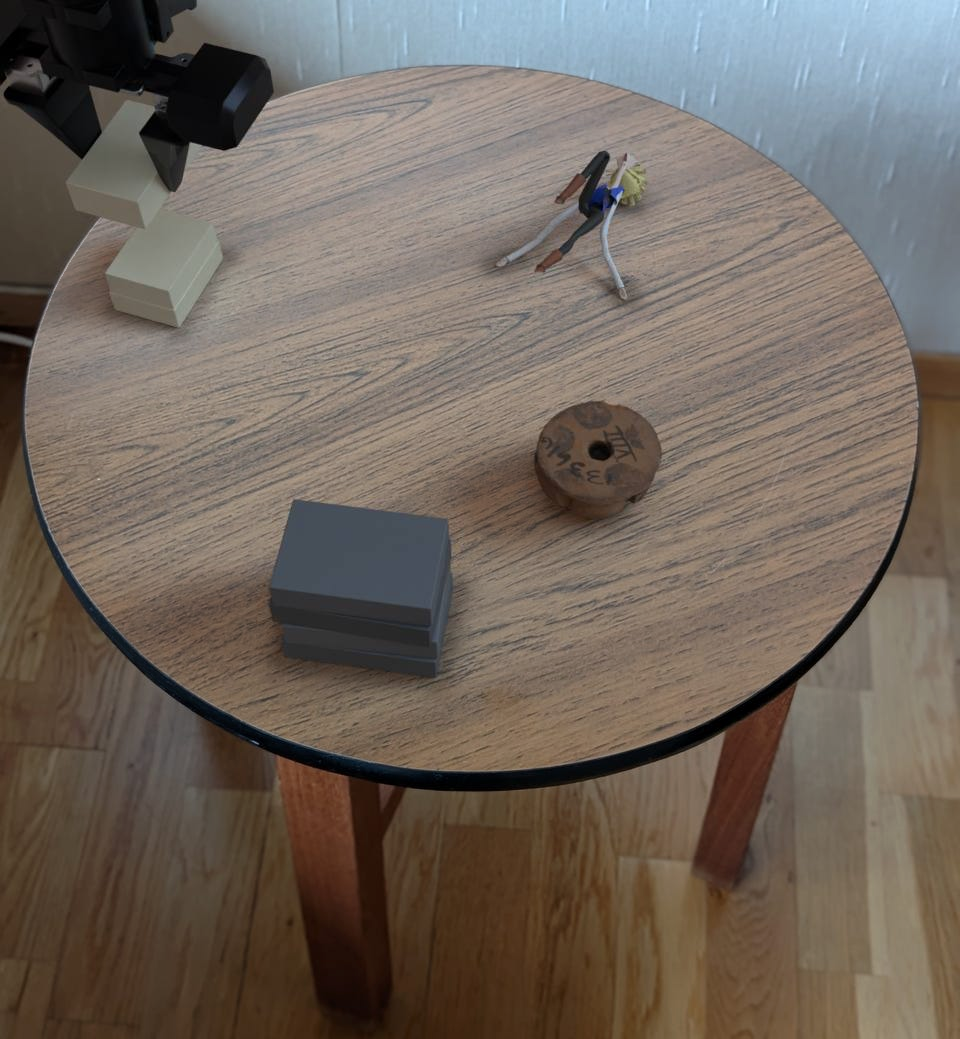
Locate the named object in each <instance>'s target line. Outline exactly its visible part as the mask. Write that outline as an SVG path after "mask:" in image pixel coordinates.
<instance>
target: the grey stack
mask: <svg viewBox="0 0 960 1039" xmlns="http://www.w3.org/2000/svg"><path fill="white" fill-rule="evenodd" d="M280 542H281V543H280V545H279V549H278V553H277V557H276V560H275V563H274V567H273V570H272V574H271V578H270V581H269V586H268V588H269V589H268V590H269V593H270V598H269V601H268V607H269V611H270V615H271V618H272V622H274V623H278V624H279V623H280V624H281V630H282V635H281V638H280V644H281V647H282V652H283V656H284V657H285V658H287V659H294V660H295V659H297V660H303V661H310V662H317V663H325V664H333V665H339V666H346V667H353V668H354V667H355V668H362V669H368V670H375V671H383V672H388V673H389V672H391V673H397V674H403V675H405V674H406V675H412V676H419V677H424V678H425V677H426V678H433V679H437V677H438V671H439V668H440V667H439V666H440V661H441V656H442V651H443V645H444V641H445V634H446V630H447V624H448V619H449V613H450V608H451V603H452V598H453V592H454V578H453V575H454V574H453V573H452V566H451V563H452V557H453V556H452V539H451V538H450V522H449V518H445V517H444V518H443V517H436V516H428V515H421V514H412V513H406V512H397V511H390V510H383V509H375V508H367V507H358V506H351V505H345V504H344V505H343V504H334V503H329V502H328V503H327V502H320V501H312V500H306V499H305V500H303V499H296V498H293V499H292V501H291V506H290V510H289V513H288V517H287V521H286V524H285V527H284V531H283V535H282V539H281V541H280Z"/></svg>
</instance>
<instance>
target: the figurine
mask: <svg viewBox="0 0 960 1039" xmlns="http://www.w3.org/2000/svg"><path fill="white" fill-rule="evenodd" d="M610 159H611V155H610V153H609V152H608V151H607V150H601V151H598V152H597V153H596V155H594V157H593V158H592V159H591V160H590V161H589V163H588V164H587V165H586V166H585V167H584V169H583V170H582V171H581V173H580V172H577V173H576V174H575V175H574V177H573V178H572V179H571V181H570V182H569V183H568V185H567V186H566V187H565V188H564V189H563V191H562V192H560V193H559V195H557V196H556V198H555V200H554V201H553V203H554V204H558V205H564V204H565V202H566V200H567V199H569V198H571V197H572V196H574V194H575V193H576V192H577V191H578V190H579V189H580V188H581V187H582V186H583V188H582V191H581V192H580V195H579V197H578V201H577V202H575V203H574V204H573V205H571V206H570V207H568V208H567V209H565V210H563V211H562V212H561V213H559V214H558V215H557V216H556V217H555V218H553V219H551V221H550V222H549V223H548V224H547V225H546V226H545V227H544V228H543V229H542V231H540V233H538V234H537V237H535V238H534V239H533V240H532V241H530V242H528V243H526V244H525V245H524V246H522V247H521V248H518V249H516V250H515V251H514V252H512V253H510V254H508V255H506V256H505V257H503V258H501V259H500V260H498V261H497V262H496V263H495V267H497V268H498V267H499V268H501V267H504V266H505V265H507V263H511V262H513V261H514V260H516V259H518V258H519V257H521V256H523V255H524V254H526V253H528V252H529V251H531V250H533V249H534V248H535V247H537V246H538V245H540V244H541V243H542V242H543V241H544V240H545V239H546V237H547V236H548V235H549V234H550V233H551V232H553V231H554V229H555V228H556V227H557V226H558V225H560V224H562V223H563V221H565V220H566V219H567V218H569V217H570V216H571V215H573V214H574V213H576V212H577V211H579V214H581V215H583V216H585V218H586V220H584V222H582V223H581V225H579V226H578V227H577V228H576V229H575V230H574V231H573V233H572V234H571V235H570V237H569V238H568V239H567V240H566V241H565V242H564V243H563V244H562V245H561V246H559V248H556V249H554V250H552V252H550V253H549V254H548V255H547V256H546V257H545V258H544V259H543V260H542V261H540V263H538V264H536V268H534V271H533V272H534V273H542V274H544V273H545V272H546V271H547V270H548V269H549V268H551V267H553V266H554V265H555V264H557V263H559V262H561V261H562V260H563V258H564V256H565V255H566V254H568V253H569V252H570V251H571V250H572V248H574V244H575V243H576V241H578V240H579V238H582V237H583V236H585V235H587V234H588V233H590V232H591V231H593V230H594V229H595V228H597V227H598V226H599V225H601V226H600V228H599V241H600V245H601V250H602V255H603V259H604V261H605V263H606V265H607V268H608V271H609V273H610V276H611V277H612V279H613V281H614V284H615V286H616V288H617V290H618V294H619V296H620V298H621V299H622V300H624V301H627V300H628V295H627V292H626V289H625V285H624V283H623V281H622V278H621V276H620V274H619V272H618V270H617V267H616V265H615V263H614V261H613V259H612V256H611V253H610V251H609V241H608V234H609V227H610V223H611V219H612V217H613V215H614V213H615V211H616V209H617V207H618V204H619V202H620V203H621V204H622V205H624V206H625V205H627V204H628V200H629V205H628V206H629V207H634V206H635V203H636V202H639V201H641V199H642V195H644V194H645V193H646V189H645V187H644V185H647V186H649V180H646V178H645V177H644V176H643V175H640V174H647V168H646V169H645V168H638V167H642V164H641V162H640V161H639V160H638V159H636V158H635V157H633V156H631V155H630V154H629V153H628V152H625V153H624V154H623V155H622V156H618V157H616V158H615V159H616V160H615V161H616V165H617V168H616V169H614V170H608V169H606V168H607V166H608V165H609V162H610V161H611V160H610ZM671 169H673V166H671ZM605 172H606V173H612V174H611V176H610V178H609V181H608V184H607V183H604V184H602V185H599V182H600V181H601V179H602V177H603V175H604V173H605ZM584 184H585V185H584ZM643 184H644V185H643ZM641 194H642V195H641ZM634 196H635V197H634ZM635 198H636V200H635ZM606 209H609V210H608V212H607V213H606ZM605 213H606V216H605ZM601 223H602V224H601Z"/></svg>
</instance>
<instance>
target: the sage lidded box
mask: <svg viewBox="0 0 960 1039" xmlns="http://www.w3.org/2000/svg"><path fill="white" fill-rule="evenodd" d="M216 233H217V232H216V228H215V224H214V222H213V221H210V220H205V219H202V218H198V217H194V216H190V215H187V214H183V213H179V212H176V211H172V210H168V209H165V208H162V207H160V209H159V210H158V212H157V213H156V215H155V216H154V218H153V219H152V221H151V222H150V224H149V225H148V227H147V228H146V229H142V228H138V227H135V229H134V230H133V231H132V233H131V234H130V236H129V237H128V238H127V241H126V242H125V243H124V244H123V246H122V248H121V249H120V251H119V252H118V253H117V254H116V256H115V258H114V259H113V260H112V261H111V263H110V265H109V266H108V268H107V269H106V270H105V272H104V276H105V278H106V281H107V285H108V288H109V292H108V294H109V297H110V300H111V303H112V306H113V309H114V310H115V311H118V312H120V313H124V314H128V315H132V316H135V317H139V318H142V319H146V320H148V321H153V322H157V323H160V324H164V325H166V326H170V327H174V328H177V329H179V328H181V326H182V324H183V323H184V322H185V319H186V318H187V317H188V316H189V313H190V312H191V310H192V309H193V307H194V305H195V304H196V303H197V301H198V299H199V298H200V297H201V295H202V293H203V291H204V290H205V288H206V287H207V285H208V284H209V282H210V280H211V279H212V278H213V276H214V274H215V272H216V271H217V269H218V268H219V266H220V264H221V263H222V261H223V260H224V255H223V252H222V246H221V241H220V240H218V238H217V234H216Z"/></svg>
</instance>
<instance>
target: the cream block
mask: <svg viewBox="0 0 960 1039" xmlns="http://www.w3.org/2000/svg"><path fill="white" fill-rule="evenodd" d="M154 111H155V106H153V105H149V104H145V103H142V102H137V101H135V100H129V99H126V100H124V102H123V103H122V104H121V106H120V107H119V109H118V110H117V111H116V113H115V114H114V116H113V117H112V118H111V120H110V121H109V122H108V124H107V125H106V126H105V128H104V129H103V130H102V133H101V135H100V136H99V137H98V139H97V140H96V142H95V143H94V144H93V146H92V147H91V148H90V150H89V151H88V152H87V154H86V155H85V157H84V158H83V159H81V160H80V162H79V163H78V165H77V166H76V167H75V169H74V170H73V171H72V173H71V174H70V176H69V177H68V178H67V180H66V181H65V185H66V188H67V192H68V194H69V196H70V199H71V202H72V205H73V208H74V210H75V211H78V212H80V213H85V214H88V215H92V216H95V217H99V218H102V219H106V220H109V221H113V222H117V223H119V224H120V223H121V224H125V225H128V226H132V227H135V228H136V227H138V228H142V229H146V228H147V227H148V225H149V224H150V222H151V221H152V219H153V218H154V216H155V215H156V213H157V212H158V210H159V209H160V208H162V206H163V205H164V204H165V201H166V200H167V198H168V197H169V196H170V194H171V193H172V192H171V191H169V190H168V189H167V187H166V186H165V184H164V183H163V181H162V180H161V178H160V176H159V174H158V172H157V170H156V168H155V166H154V164H153V162H152V160H151V158H150V156H149V154H148V151H147V150H146V148H145V146H144V144H143V142H142V139H141V137H140V135H139V132H140V130H141V129H142V128H143V126H144V125H145V124H146V122H147V121H148V120H149V118H150V117H151V116H152V114H153V113H154ZM202 147H203V146H202V145H199V144H195V143H191V142H190V145H189V150H188V155H187V160H186V165H185V170H184V173H185V172H186V170H187V169H188V167H189V165H190V164H191V163H192V161H193V160H194V158H195V157H196V156H197V154H198V152H199V150H200V149H201V148H202Z"/></svg>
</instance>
